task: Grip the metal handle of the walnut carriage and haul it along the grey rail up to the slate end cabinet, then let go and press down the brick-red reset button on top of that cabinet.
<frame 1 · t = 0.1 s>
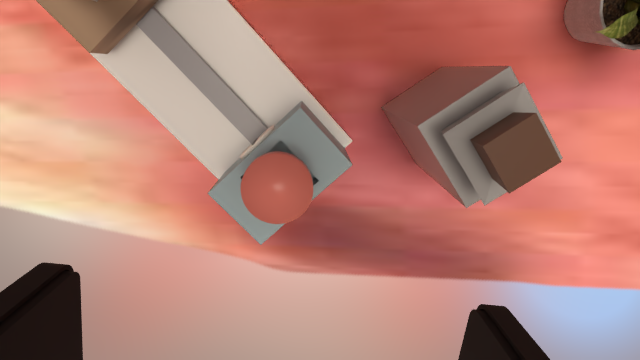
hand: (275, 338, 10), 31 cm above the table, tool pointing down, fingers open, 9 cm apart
end cabinet: (285, 156, 40), resting on rail bed
rail bed: (200, 67, 38), on the table
house plant: (596, 25, 38), on the table
perfume bottle: (427, 116, 40), on the table
reset button: (278, 184, 31), point 10 cm above the table, slide at 0.0 cm
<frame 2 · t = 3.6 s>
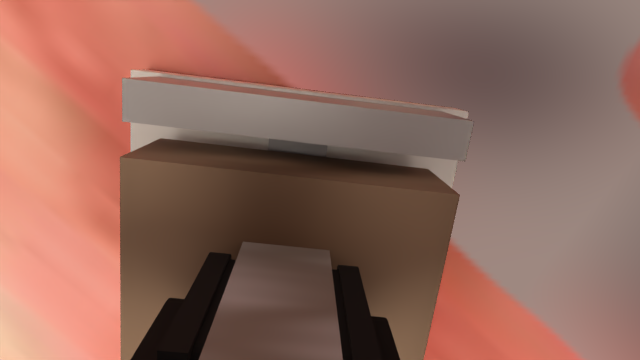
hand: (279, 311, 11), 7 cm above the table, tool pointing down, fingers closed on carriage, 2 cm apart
carriage: (277, 325, 10), point 7 cm above the table, slide at 0.0 cm, touching gripper
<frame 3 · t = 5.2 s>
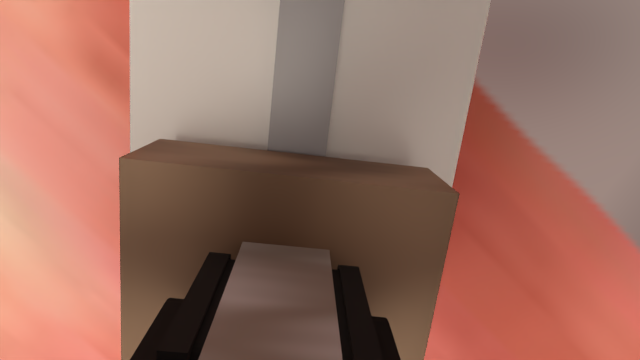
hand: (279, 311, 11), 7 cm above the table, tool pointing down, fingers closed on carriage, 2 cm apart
rail bed: (284, 275, 18), on the table
carriage: (277, 325, 10), point 7 cm above the table, slide at 6.4 cm, touching gripper
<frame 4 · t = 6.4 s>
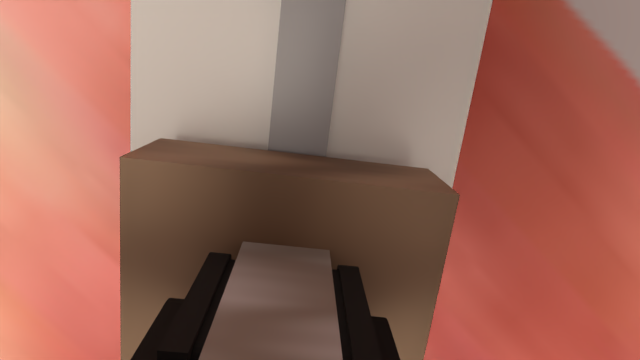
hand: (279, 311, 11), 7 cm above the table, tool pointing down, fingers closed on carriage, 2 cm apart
rail bed: (296, 157, 17), on the table
carriage: (277, 325, 10), point 7 cm above the table, slide at 11.8 cm, touching gripper
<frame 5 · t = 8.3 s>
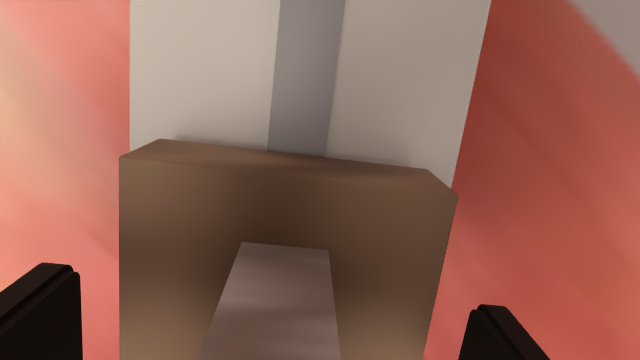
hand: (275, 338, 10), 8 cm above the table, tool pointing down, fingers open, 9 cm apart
rail bed: (296, 152, 16), on the table
carriage: (276, 326, 10), point 7 cm above the table, slide at 12.0 cm
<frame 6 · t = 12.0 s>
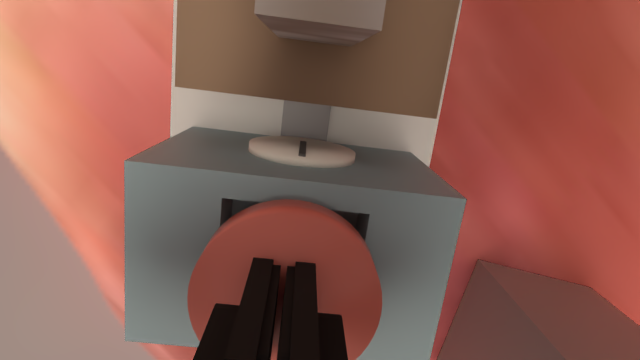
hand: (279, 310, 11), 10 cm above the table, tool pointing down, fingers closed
end cabinet: (297, 192, 21), resting on rail bed
perfume bottle: (509, 323, 23), on the table
reset button: (288, 277, 12), point 9 cm above the table, slide at 1.2 cm, touching gripper
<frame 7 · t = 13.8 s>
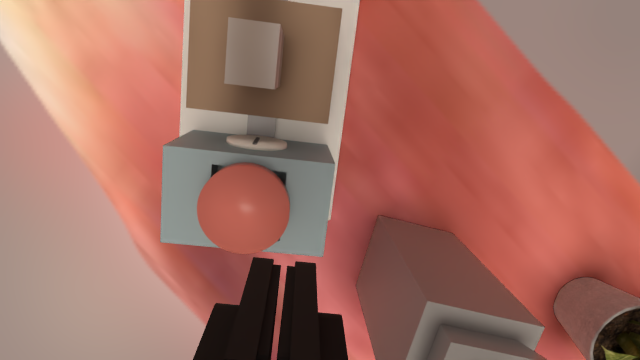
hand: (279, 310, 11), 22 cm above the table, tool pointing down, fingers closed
end cabinet: (259, 171, 33), resting on rail bed
rail bed: (272, 20, 30), on the table
carriage: (260, 58, 24), point 7 cm above the table, slide at 12.0 cm
house plant: (574, 314, 38), on the table
perfume bottle: (403, 258, 36), on the table
reset button: (246, 203, 24), point 8 cm above the table, slide at 1.5 cm
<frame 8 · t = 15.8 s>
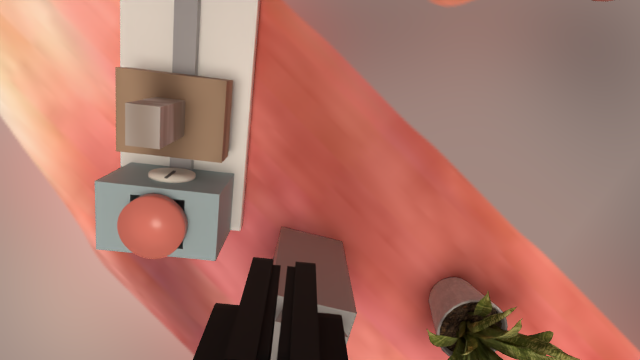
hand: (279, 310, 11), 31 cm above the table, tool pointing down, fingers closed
end cabinet: (186, 192, 42), resting on rail bed
rail bed: (190, 78, 39), on the table
carriage: (164, 118, 33), point 7 cm above the table, slide at 12.0 cm
house plant: (447, 307, 47), on the table
perfume bottle: (304, 260, 45), on the table
reset button: (157, 222, 34), point 8 cm above the table, slide at 1.5 cm
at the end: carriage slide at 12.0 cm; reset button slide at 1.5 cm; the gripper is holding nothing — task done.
